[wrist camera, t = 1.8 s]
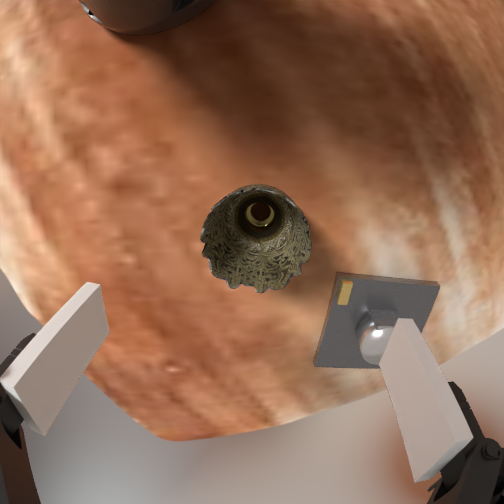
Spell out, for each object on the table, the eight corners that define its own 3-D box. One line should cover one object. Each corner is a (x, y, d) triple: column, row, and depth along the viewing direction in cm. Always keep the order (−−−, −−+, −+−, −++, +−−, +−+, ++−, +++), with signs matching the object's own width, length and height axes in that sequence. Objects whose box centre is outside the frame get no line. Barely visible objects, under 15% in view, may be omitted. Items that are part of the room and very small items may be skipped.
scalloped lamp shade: (311, 181, 26) (325, 204, 19) (291, 256, 29) (296, 302, 22) (227, 163, 26) (208, 179, 18) (213, 240, 29) (193, 281, 21)
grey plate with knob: (337, 271, 29) (345, 293, 26) (436, 281, 29) (452, 300, 25) (313, 360, 34) (316, 385, 30) (401, 362, 34) (410, 384, 30)
